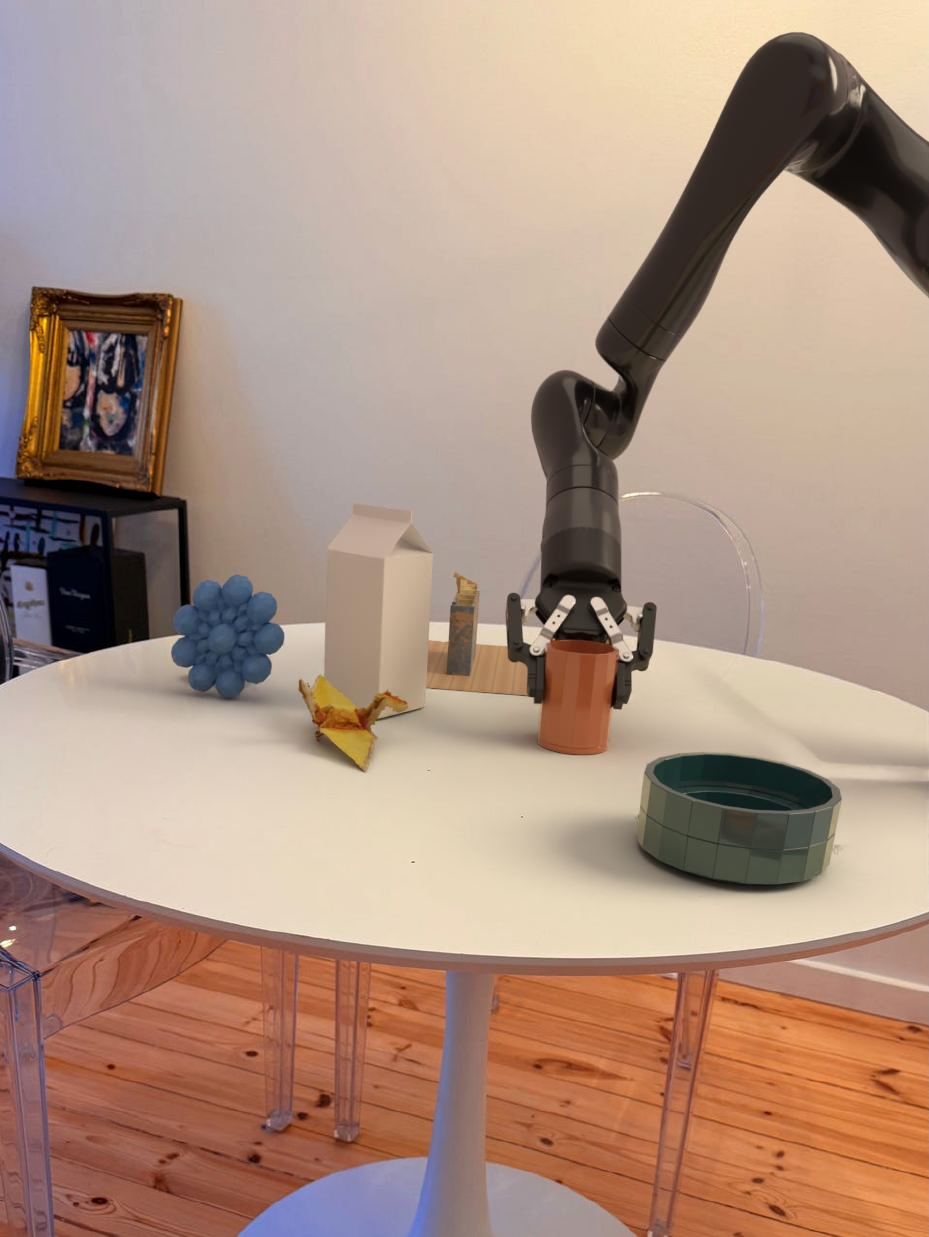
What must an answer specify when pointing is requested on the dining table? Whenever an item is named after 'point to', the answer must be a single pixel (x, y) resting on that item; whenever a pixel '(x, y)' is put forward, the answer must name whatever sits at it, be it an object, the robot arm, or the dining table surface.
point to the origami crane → (346, 718)
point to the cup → (577, 696)
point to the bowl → (738, 817)
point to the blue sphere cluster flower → (227, 636)
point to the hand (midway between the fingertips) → (578, 701)
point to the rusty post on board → (471, 653)
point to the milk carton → (378, 608)
